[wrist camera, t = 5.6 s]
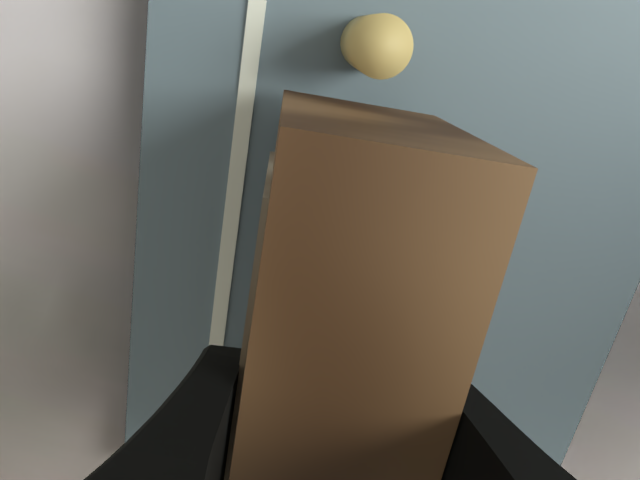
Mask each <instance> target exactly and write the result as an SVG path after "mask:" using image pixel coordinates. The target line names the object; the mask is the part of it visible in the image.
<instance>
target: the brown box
mask: <svg viewBox="0 0 640 480" xmlns="http://www.w3.org/2000/svg"><path fill="white" fill-rule="evenodd" d="M537 171H538V168H536V167H534V166H532V165H530V164H528V163H526V162H524V161H522V160H520V159H518V158H517V157H515V156H513V155H511V154H509V153H507V152H505V151H503V150H501V149H499V148H497V147H495V146H493V145H491V144H489V143H487V142H485V141H483V140H481V139H480V138H478V137H476V136H474V135H472V134H470V133H468V132H466V131H464V130H462V129H460V128H458V127H456V126H454V125H452V124H450V123H448V122H446V121H444V120H443V119H441V118H439V117H437V116H435V115H429V114H423V113H417V112H412V111H406V110H400V109H394V108H388V107H382V106H377V105H371V104H365V103H359V102H353V101H348V100H342V99H336V98H330V97H324V96H319V95H313V94H307V93H301V92H295V91H290V90H284V91H283V98H282V105H281V112H280V119H279V126H278V133H277V140H276V147H275V152H272V151H270V156H269V162H268V168H267V174H266V180H265V186H264V192H263V198H262V205H261V213H260V220H259V227H258V234H257V241H256V248H255V255H254V262H253V270H252V277H251V284H250V291H249V298H248V305H247V312H246V319H245V327H244V334H243V341H242V348H241V355H240V362H239V365H240V368H239V376H238V383H237V390H236V397H235V404H234V411H233V418H232V425H231V432H230V439H229V446H228V453H227V460H226V467H225V475H224V480H441V478H442V475H443V472H444V469H445V466H446V462H447V459H448V456H449V453H450V450H451V446H452V443H453V440H454V437H455V433H456V430H457V427H458V424H459V421H460V417H461V414H462V411H463V408H464V405H465V401H466V398H467V395H468V392H469V389H470V385H471V382H472V379H473V376H474V373H475V369H476V366H477V363H478V360H479V357H480V353H481V350H482V347H483V344H484V340H485V337H486V334H487V331H488V328H489V324H490V321H491V318H492V315H493V312H494V308H495V305H496V302H497V299H498V296H499V292H500V289H501V286H502V283H503V280H504V276H505V273H506V270H507V267H508V264H509V260H510V257H511V254H512V251H513V247H514V244H515V241H516V238H517V235H518V231H519V228H520V225H521V222H522V219H523V215H524V212H525V209H526V206H527V203H528V199H529V196H530V193H531V190H532V187H533V183H534V180H535V177H536V174H537Z"/></svg>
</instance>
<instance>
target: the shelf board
mask: <svg viewBox="0 0 640 480" xmlns="http://www.w3.org/2000/svg"><path fill="white" fill-rule="evenodd" d="M284 90H290V91H295V92H301V93H307V94H313V95H319V96H324V97H330V98H336V99H342V100H348V101H353V102H359V103H365V104H371V105H377V106H382V107H388V108H394V109H400V110H406V111H412V112H417V113H423V114H429V115H435V116H437V117H439V118H441V119H443V120H444V121H446V122H448V123H450V124H452V125H454V126H456V127H458V128H460V129H462V130H464V131H466V132H468V133H470V134H472V135H474V136H476V137H478V138H480V139H481V140H483V141H485V142H487V143H489V144H491V145H493V146H495V147H497V148H499V149H501V150H503V151H505V152H507V153H509V154H511V155H513V156H515V157H517V158H518V159H520V160H522V161H524V162H526V163H528V164H530V165H532V166H534V167H536V168H538V171H537V174H536V177H535V180H534V183H533V187H532V190H531V193H530V196H529V199H528V203H527V206H526V209H525V212H524V215H523V219H522V222H521V225H520V228H519V231H518V235H517V238H516V241H515V244H514V247H513V251H512V254H511V257H510V260H509V264H508V267H507V270H506V273H505V276H504V280H503V283H502V286H501V289H500V292H499V296H498V299H497V302H496V305H495V308H494V312H493V315H492V318H491V321H490V324H489V328H488V331H487V334H486V337H485V340H484V344H483V347H482V350H481V353H480V357H479V360H478V363H477V366H476V369H475V373H474V376H473V379H472V382H471V384H472V385H473V386H474V387H475V388H477V389H478V390H479V391H480V392H481V393H482V394H483V395H484V396H485V397H486V398H487V399H488V400H489V401H490V402H492V403H493V404H494V405H495V406H496V407H497V408H498V409H499V410H500V411H501V412H502V413H503V414H504V415H505V416H506V417H507V418H508V419H509V420H510V421H512V422H513V423H514V424H515V425H516V426H517V427H518V428H519V429H520V430H521V431H522V432H523V433H524V434H525V435H527V436H528V437H529V438H530V439H531V440H532V441H533V442H534V443H535V444H536V445H537V446H538V447H540V448H541V449H542V450H543V451H544V452H545V453H546V454H547V455H549V456H550V457H551V458H552V459H553V460H554V461H555V462H556V463H558V464H559V465H560V466H561V464H562V461H563V459H564V457H565V454H566V452H567V450H568V447H569V445H570V443H571V440H572V438H573V436H574V433H575V431H576V429H577V426H578V424H579V422H580V419H581V417H582V415H583V412H584V410H585V408H586V405H587V403H588V401H589V398H590V396H591V394H592V391H593V389H594V387H595V384H596V382H597V380H598V377H599V375H600V373H601V370H602V368H603V366H604V363H605V361H606V359H607V356H608V354H609V352H610V349H611V347H612V345H613V342H614V340H615V338H616V335H617V333H618V331H619V328H620V326H621V323H622V321H623V319H624V316H625V314H626V312H627V309H628V307H629V305H630V302H631V300H632V298H633V295H634V293H635V291H636V288H637V286H638V284H639V281H640V0H149V1H148V19H147V38H146V57H145V75H144V94H143V112H142V131H141V150H140V168H139V187H138V206H137V224H136V243H135V261H134V280H133V299H132V317H131V336H130V355H129V373H128V392H127V410H126V429H125V442H126V441H127V440H128V439H129V438H130V437H131V436H132V435H133V434H134V433H135V432H136V431H137V430H138V429H139V428H140V427H141V426H142V425H143V424H144V423H145V422H146V421H147V420H148V419H149V418H150V417H151V416H152V415H153V414H154V413H155V412H156V411H157V410H158V408H159V407H160V406H161V405H162V404H163V403H164V401H165V400H166V399H167V398H168V397H169V396H170V394H171V393H172V392H173V391H174V390H175V389H176V387H177V386H178V385H179V384H180V382H181V381H182V380H183V379H184V377H185V376H186V375H187V373H188V372H189V371H190V369H191V368H192V367H193V365H194V364H195V362H196V361H197V359H198V358H199V356H200V354H201V353H202V351H203V349H204V348H206V347H207V346H209V345H218V346H226V347H235V348H242V341H243V334H244V327H245V319H246V312H247V305H248V298H249V291H250V284H251V277H252V270H253V262H254V255H255V248H256V241H257V234H258V227H259V220H260V213H261V205H262V198H263V192H264V186H265V180H266V174H267V168H268V162H269V156H270V151H272V152H275V147H276V140H277V133H278V126H279V119H280V112H281V105H282V98H283V91H284Z"/></svg>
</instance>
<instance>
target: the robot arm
mask: <svg viewBox="0 0 640 480" xmlns="http://www.w3.org/2000/svg"><path fill="white" fill-rule="evenodd" d="M240 355H241V348H235V347H226V346H218V345H209V346H207V347H206V348H204V349H203V351H202V353H201V354H200V356H199V358H198V359H197V361H196V362H195V364H194V365H193V367H192V368H191V369H190V371H189V372H188V373H187V375H186V376H185V377H184V379H183V380H182V381H181V382H180V384H179V385H178V386H177V387H176V389H175V390H174V391H173V392H172V393H171V394H170V396H169V397H168V398H167V399H166V400H165V401H164V403H163V404H162V405H161V406H160V407H159V408H158V410H157V411H156V412H155V413H154V414H153V415H152V416H151V417H150V418H149V419H148V420H147V421H146V422H145V423H144V424H143V425H142V426H141V427H140V428H139V429H138V430H137V431H136V432H135V433H134V434H133V435H132V436H131V437H130V438H129V439H128V440H127V441H126V442H125V443H124V444H123V445H122V446H121V447H120V448H119V449H118V450H117V451H116V452H115V453H114V454H113V455H112V456H111V457H109V458H108V459H107V460H106V461H105V462H104V463H103V464H102V465H100V466H99V467H98V468H97V469H96V470H95V471H93V472H92V473H91V474H90V475H89V476H88V477H86V478H85V479H84V480H224V475H225V467H226V460H227V453H228V446H229V439H230V432H231V425H232V418H233V411H234V404H235V397H236V390H237V383H238V376H239V368H240V365H239V362H240ZM441 480H576V479H575V478H574V477H573V476H572V475H571V474H569V473H568V472H567V471H566V470H565V469H563V468H562V467H561V466H560V465H559V464H558V463H556V462H555V461H554V460H553V459H552V458H551V457H550V456H549V455H547V454H546V453H545V452H544V451H543V450H542V449H541V448H540V447H538V446H537V445H536V444H535V443H534V442H533V441H532V440H531V439H530V438H529V437H528V436H527V435H525V434H524V433H523V432H522V431H521V430H520V429H519V428H518V427H517V426H516V425H515V424H514V423H513V422H512V421H510V420H509V419H508V418H507V417H506V416H505V415H504V414H503V413H502V412H501V411H500V410H499V409H498V408H497V407H496V406H495V405H494V404H493V403H492V402H490V401H489V400H488V399H487V398H486V397H485V396H484V395H483V394H482V393H481V392H480V391H479V390H478V389H477V388H475V387H474V386H473V385H472V384H471V385H470V389H469V392H468V395H467V398H466V401H465V405H464V408H463V411H462V414H461V417H460V421H459V424H458V427H457V430H456V433H455V437H454V440H453V443H452V446H451V450H450V453H449V456H448V459H447V462H446V466H445V469H444V472H443V475H442V478H441Z"/></svg>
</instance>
